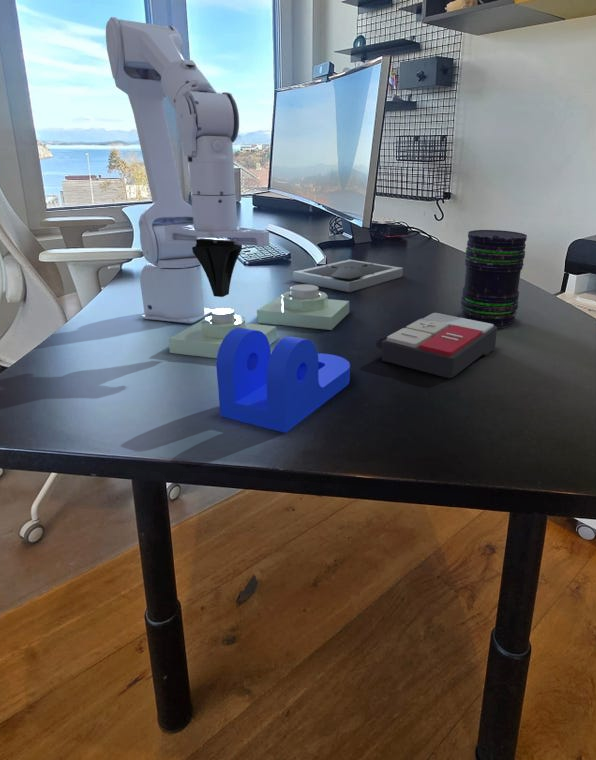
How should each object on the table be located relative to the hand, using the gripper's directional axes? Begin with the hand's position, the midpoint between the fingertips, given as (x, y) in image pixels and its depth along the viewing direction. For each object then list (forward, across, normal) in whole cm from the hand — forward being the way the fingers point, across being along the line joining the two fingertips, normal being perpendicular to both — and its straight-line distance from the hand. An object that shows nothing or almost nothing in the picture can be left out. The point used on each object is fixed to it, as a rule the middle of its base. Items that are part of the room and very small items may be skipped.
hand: (221, 295), depth 77 cm
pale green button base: (+8, 0, 0) cm, 8 cm away
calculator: (+8, +31, +6) cm, 33 cm away
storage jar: (+8, +37, +27) cm, 46 cm away
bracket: (+8, +16, -13) cm, 22 cm away
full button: (+4, +6, +18) cm, 19 cm away
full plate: (+8, +6, +18) cm, 20 cm away
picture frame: (+8, +5, +51) cm, 52 cm away
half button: (+4, 0, 0) cm, 4 cm away
